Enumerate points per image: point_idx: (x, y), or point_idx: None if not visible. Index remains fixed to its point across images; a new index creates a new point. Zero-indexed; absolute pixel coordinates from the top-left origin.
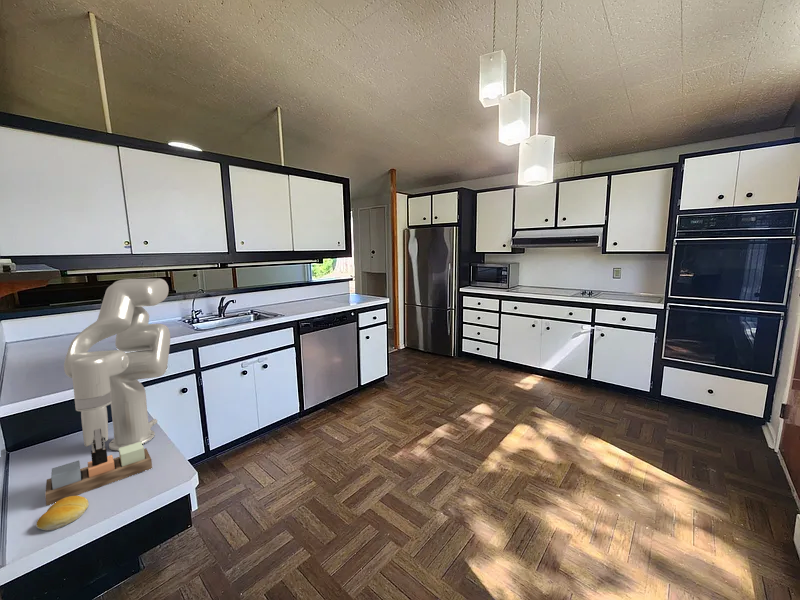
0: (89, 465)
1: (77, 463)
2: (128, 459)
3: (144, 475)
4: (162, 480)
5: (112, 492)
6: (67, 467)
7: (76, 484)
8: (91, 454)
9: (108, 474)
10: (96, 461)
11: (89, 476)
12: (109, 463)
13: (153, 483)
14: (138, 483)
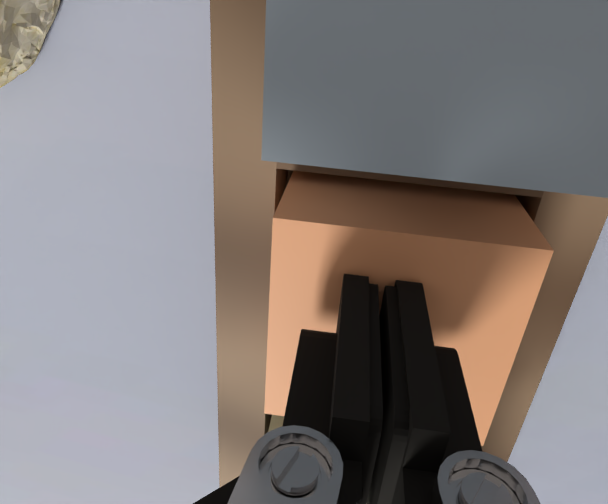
0: (414, 249)
1: (495, 159)
2: None
3: (181, 409)
4: (40, 439)
5: (84, 242)
6: (489, 6)
7: (211, 58)
8: (333, 393)
9: (220, 303)
10: (300, 338)
11: (287, 187)
12: (267, 382)
13: (36, 407)
14: (96, 364)
